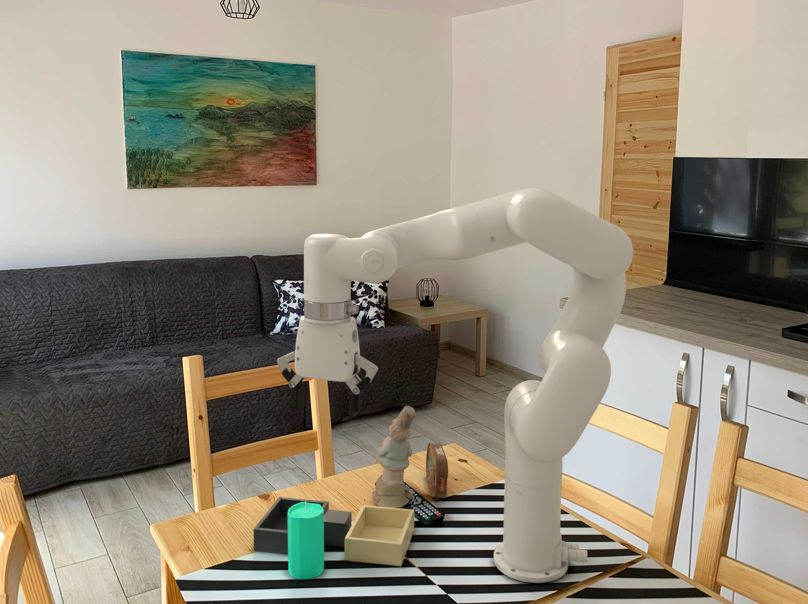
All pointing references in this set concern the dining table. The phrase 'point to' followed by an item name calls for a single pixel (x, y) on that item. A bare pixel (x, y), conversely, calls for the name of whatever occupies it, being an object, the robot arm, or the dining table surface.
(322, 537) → the candle
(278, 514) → the charcoal bin
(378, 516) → the cream bin
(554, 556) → the robot arm
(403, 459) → the figurine
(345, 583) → the dining table surface
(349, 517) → the block
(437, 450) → the tin
